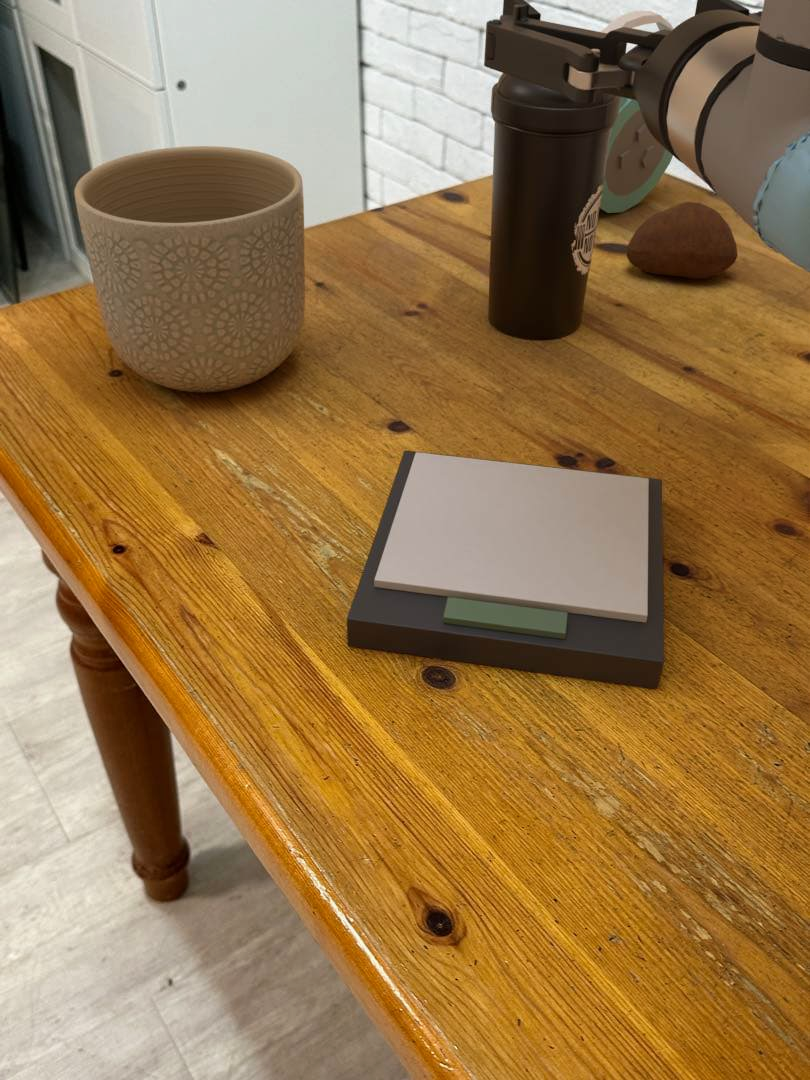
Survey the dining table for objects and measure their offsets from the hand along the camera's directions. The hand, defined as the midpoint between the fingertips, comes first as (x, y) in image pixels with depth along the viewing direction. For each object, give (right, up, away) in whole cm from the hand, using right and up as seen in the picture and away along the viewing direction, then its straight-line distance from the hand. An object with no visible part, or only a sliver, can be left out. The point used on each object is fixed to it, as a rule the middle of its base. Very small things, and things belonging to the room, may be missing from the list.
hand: (605, 12), depth 71 cm
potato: (+13, -9, +33) cm, 37 cm away
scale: (-6, -38, -4) cm, 38 cm away
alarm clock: (+9, +2, +47) cm, 48 cm away
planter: (-30, -21, +17) cm, 40 cm away
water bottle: (-2, -16, +25) cm, 29 cm away
